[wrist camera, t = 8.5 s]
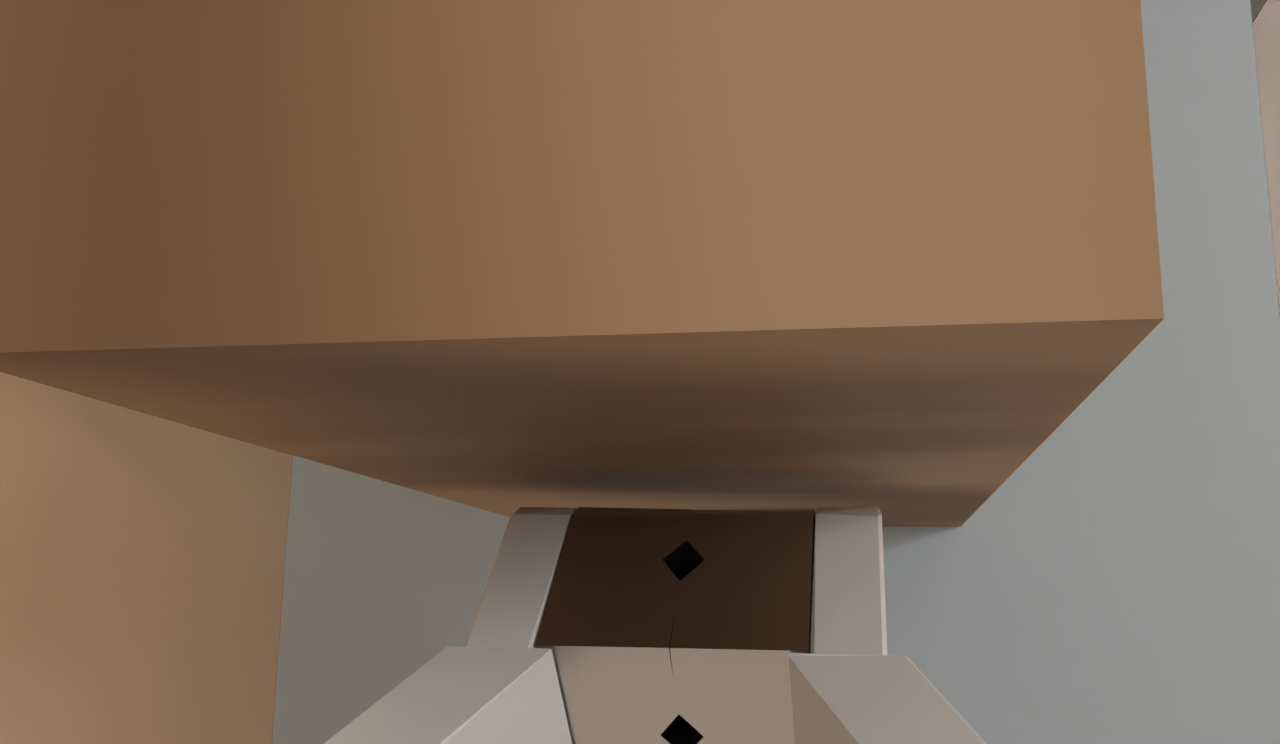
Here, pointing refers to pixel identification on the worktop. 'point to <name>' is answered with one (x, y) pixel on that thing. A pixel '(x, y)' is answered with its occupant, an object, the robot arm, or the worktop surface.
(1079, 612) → the board
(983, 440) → the brown boxy piece
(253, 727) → the worktop surface
